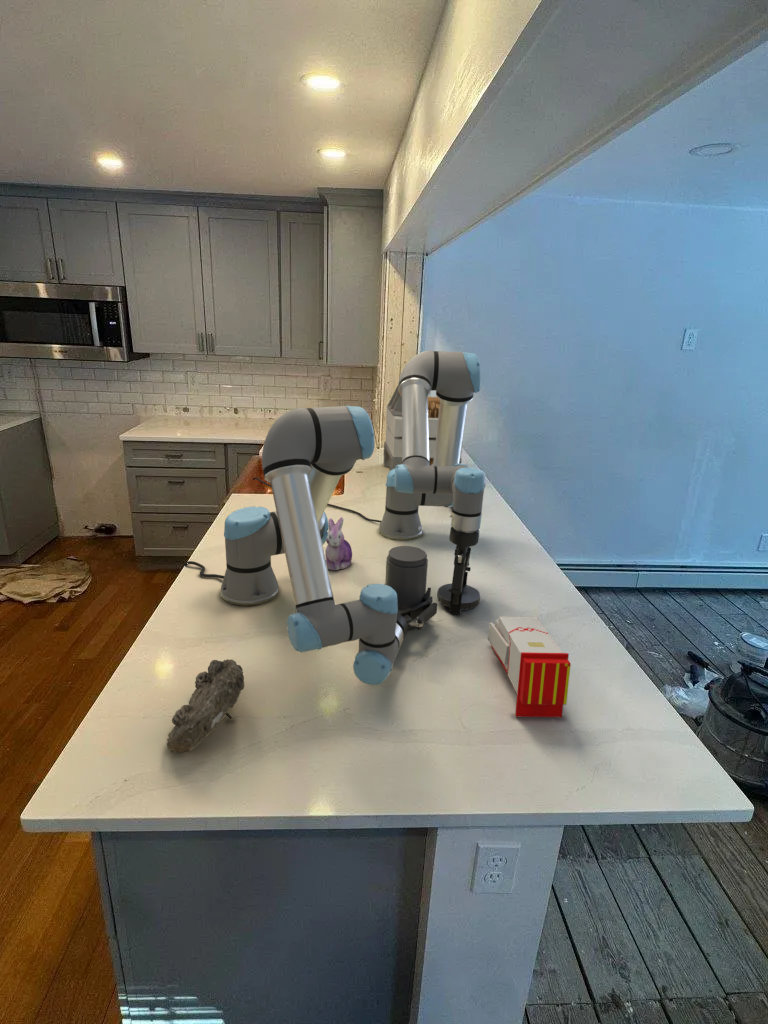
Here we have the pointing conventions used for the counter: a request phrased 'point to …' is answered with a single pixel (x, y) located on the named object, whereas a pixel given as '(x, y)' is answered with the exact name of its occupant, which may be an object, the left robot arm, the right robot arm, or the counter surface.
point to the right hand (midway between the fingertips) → (457, 602)
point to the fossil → (206, 705)
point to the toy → (531, 665)
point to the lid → (468, 596)
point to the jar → (407, 575)
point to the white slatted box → (395, 430)
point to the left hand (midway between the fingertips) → (408, 588)
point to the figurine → (337, 547)
